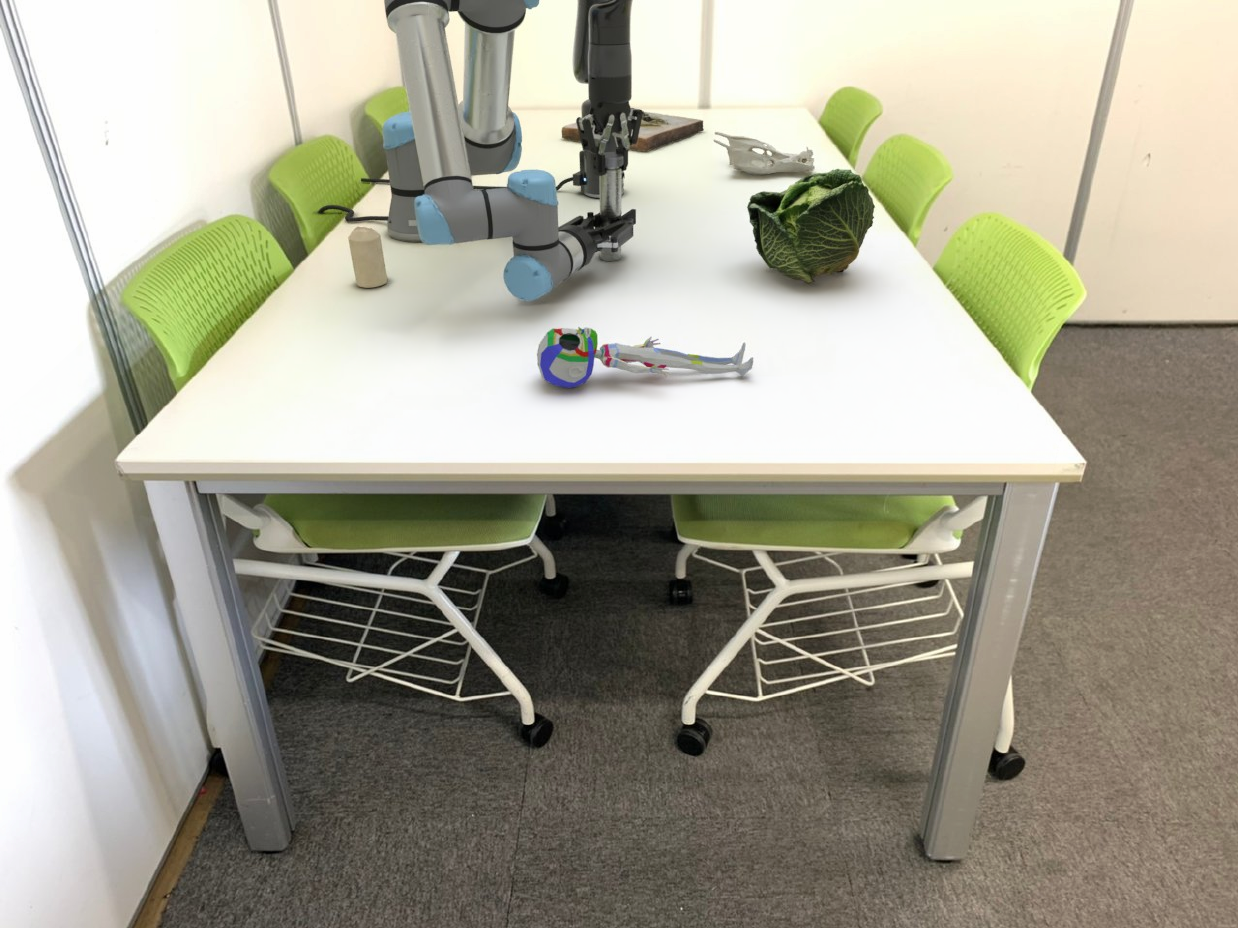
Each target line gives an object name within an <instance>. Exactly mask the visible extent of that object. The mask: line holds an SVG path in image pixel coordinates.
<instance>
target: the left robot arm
mask: <svg viewBox="0 0 1238 928" xmlns="http://www.w3.org/2000/svg"><path fill="white" fill-rule="evenodd" d="M383 3H384V12H385V19H386V23H387V27H388V28H389V30H390V31H391V32H393V33H394V34H395V35H396V41H397V46H398V52H399V58H400V64H401V70H402V75H403V80H404V86H405V91H406V97H407V102H408V108H409V110H407V111H404V112H400V113H397V114H394V115H392V116H391V117H389V118H388V119H386V120H385V121H384V123H383V124H382V138H383V144H382V147H383V149H384V151H385V158H386V165H387V172H388V179H389V181H390V183H389V187H390V194H391V195H390V196H391V198H390V204H389V209H388V215H387V216H384V215H366V216H357V217H353V216H354V215H355V211H354V210H353V209H352V208H348V207H346V206H342V205H338V204H328V205H324V206H321V208H319V209H318V210H317V214H321V215H322V214H323V213H324V212H326V211H329V210H338V211H341V212H344V213H346V214H345V216H344V220H345V221H347V222H350V223H352V222H353V223H358V222H366V221H384V222H385V221H386V227H387V234H388V236H389V237H391V238H392V239H395V240H397V241H402V242H411V243H412V242H413V243H421V242H422V243H423V244H424V245H427V246H439V245H440V246H442V245H443V246H444V245H450V246H452V245H455V244H463V243H470V242H476V241H485V240H495V239H497V240H498V239H507V238H512V239H511V240H512V249H513V250H512V251H513V257H510V259H509V261H508V262H507V263H506V264H505V266H504V269H503V274H502V275H503V282H504V284H505V287H506V289H507V290H508V292H509V293H510V294H511V295H512V296H513V297H515V298H516V299H518V300H522V301H523V302H532V301H533V302H534V301H536V300H538V299H539V298H541V297H543V296H546V295H547V294H549V293H550V292H551V291H552V290H554V289H555V288H556V287H557V286H558V285H560V284H561V283H562V282H565V280H567V279H569V277H571V276H573V275H574V274H575V273H577V272H578V271H580V270H582V269H583V268H584V267H586V266H587V265H589V264H590V262H591V261H592V259H593V258H594V256H595V254H596V253H598V252H600V251H601V250H602V249H603V248H609V249H610V250H611V252H618V248H619V247H620V246H621V247H622V246H623V245H624V244H626V243H628V241H629V240H630V239H632V238H633V237H634V225H636V224H637V209H636V208H631V209H629V210H628V211H627V212H625V213H624V214H621V217H619V218H618V222H615V223H613V224H611V225H608V226H606V227H604V228H600V212H598V213H595V214H594V212H593V211H588V212H587V213H586V215H587V216H586V217H585V218H584V215H578V216H576V217H574V218H572V219H570V220H569V221H567V222H565V223H564V224H561V225H560V226H559V201H558V194H557V193H558V192H557V191H556V179H555V177H554V176H553V174H551V173H550V172H549V171H546V170H542V169H522V170H520V171H515V170H516V169H517V167H518V166H519V164H520V160H521V158H522V151H523V146H522V142H523V134H522V127H521V122H520V119H519V116H518V115H517V114H516V113H515V112H513V110H512V109H511V108H510V106H509V100H510V90H511V81H512V80H511V78H512V68H513V57H514V45H515V34H516V29H518V28H519V27H520V26H521V25H522V24H523V22H524V21H525V18H526V13H527V9H528V10H532V9H535V8H537V7H538V6H539V4H540V0H383ZM450 12H451V13H452V12H453V13H454V12H457V14H458V16H459V18H460V19H461V20H462V22H464V35H463V36H464V38H463V39H464V41H463V42H464V43H463V79H462V80H463V82H462V83H463V84H462V100H461V101H460V102H459V100H458V94H457V88H456V84H455V83H456V82H455V78H454V72H453V66H452V61H451V55H450V50H449V44H448V38H447V33H446V32H447V31H446V28H447V26H448V25H449V23H450ZM512 171H514V172H512ZM509 172H512V173H510V174H509V175H508V177H507V183H506V187H507V188H497V189H487V190H478V189H474V188H473V186H474V185H473V177H474V176H483V175H484V176H486V175H501V174H503V173H509Z"/></svg>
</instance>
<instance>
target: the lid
mask: <svg viewBox="0 0 1238 928" xmlns="http://www.w3.org/2000/svg"><path fill="white" fill-rule="evenodd" d="M603 154H604V155H605V167H608V168H613V167H620V166H622V165H623V164H624V157H623V154H621V153H617V152H604V153H603Z"/></svg>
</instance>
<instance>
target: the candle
mask: <svg viewBox="0 0 1238 928" xmlns="http://www.w3.org/2000/svg"><path fill="white" fill-rule="evenodd" d="M347 239H348V244H349V251H350V256H351V262H352V267H353V272H354V273H353V274H354V277H355V278H354V279H355V283H356V285H357V286H358V287H360V288H367V289H369V288H377V287H380V286H384V285H385V284H387V283H388V274H387V268H386V261H385V257H384V250H383V244H382V243H383V242H382V237H381V233H379V231H377V230H375V229H373V228H372V227H370V228H369V227H366V226H356V227H354V228H353V230H352V231H351V232H350V234H349V235H348V237H347Z"/></svg>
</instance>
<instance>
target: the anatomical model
mask: <svg viewBox="0 0 1238 928" xmlns="http://www.w3.org/2000/svg"><path fill="white" fill-rule="evenodd" d="M714 135H717V136H721V137H723V138H726V139H727V140H728V144H729V145H728V144H725V143H724V142H721V140H717V139H713V142H714V143H716V144H718V145H719V146H721V147H724V148H726V150H727V156H728V159H729V164H728V165H729V166H733V169H734V170H736V171H739V172H740V171H742V172H745V173H746V174H749V175H756V176H757V175H758V176H759V175H770V174H775V173H781V172H782V173H783V172H787V173H790V172H792V173H793V172H794V173H803V174H804V173H807V172H808V173H809V172H813V171H814V170H815V165H814V163H815V158H813V155H814V151H813V149H809V147H808V146H806V151H805V150H803V151H801V152H800V153H789V152H781V151H779V150H777V149H776V148H775V147H774V146H772V144H769V143H766V142H764V141H761V140H759V139H756V138H752V137H747V136H742V135H741V136H740V135H731V134H727V133H724V132H719V131H715V132H714ZM753 149H760V150H762V151H763V153H758V152H756V151H754V150H753ZM768 152H770V153H771V154H768Z"/></svg>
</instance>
